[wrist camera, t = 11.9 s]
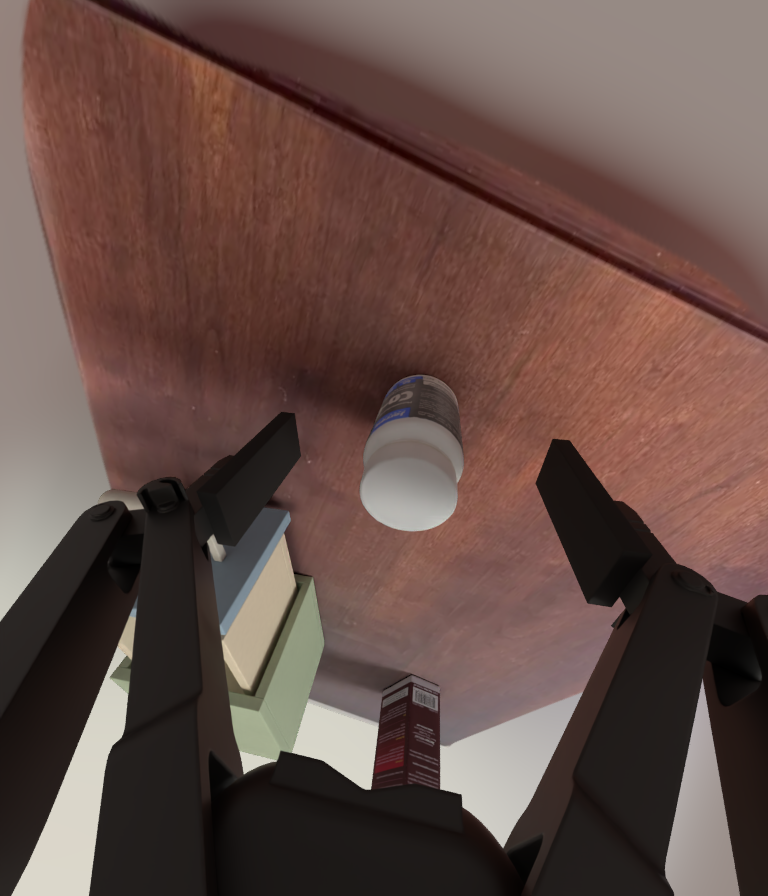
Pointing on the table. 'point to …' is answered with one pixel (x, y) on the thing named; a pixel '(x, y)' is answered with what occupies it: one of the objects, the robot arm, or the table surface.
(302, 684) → the green box-shaped shell
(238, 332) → the table surface
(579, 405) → the table surface
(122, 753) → the robot arm
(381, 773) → the supplement box
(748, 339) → the table surface
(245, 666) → the drawer
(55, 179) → the table surface
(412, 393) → the pill bottle
